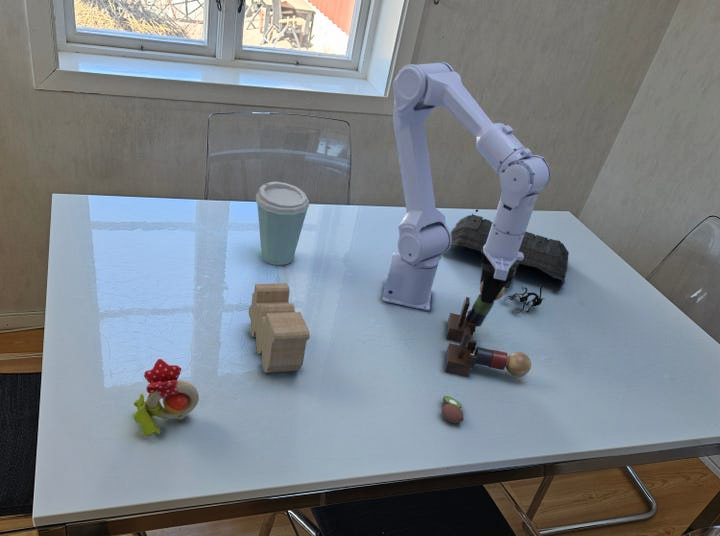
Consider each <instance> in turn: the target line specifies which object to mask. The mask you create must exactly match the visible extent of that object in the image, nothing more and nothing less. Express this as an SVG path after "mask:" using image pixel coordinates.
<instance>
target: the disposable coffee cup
mask: <svg viewBox="0 0 720 536" xmlns="http://www.w3.org/2000/svg"><path fill="white" fill-rule="evenodd" d="M255 202H256V205H257V215H258V228H259V238H260V239H259V243H260V253H261V257H262V259H263V260H264V262H266V263H267V264H271V265H274V266H285V265H287V264H291V262H292V261H293V258H295V255H296V254H295V253H296V250H297V247H298V243H299V240H300V236H301V233H302V229H303V227H304V222H305V218H306V216H307V213H308V209H309V207H310V200H309V199H308V197H307V194H306V193H305V191H303V190H302V189H300V188H299V187H298V186H296V185H292V184H290V183H288V182H281V181H270V182H266V183H264V184H262V185H261V186H260V187H259V188H258V192H257V193H255Z"/></svg>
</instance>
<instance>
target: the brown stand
mask: <svg viewBox="0 0 720 536" xmlns="http://www.w3.org/2000/svg"><path fill="white" fill-rule="evenodd" d="M470 337H471V336H470V328H468V327H465V330H464V333H463V336H462V339H461V342H459V344H456V343H451V342H449V343H448V345H447V349H446V351H445V361H444V362H445V363H444V372H445V373H449V374H453V375H458V376H461V377H466V378H467V377H468V376H469V372H470V370H474V369H475V366H476V365H477V364H476V360H477V356H475V355H474V353H475V350H476V348H477V344H478V342H477V340H472V339H470Z"/></svg>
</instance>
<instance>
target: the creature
mask: <svg viewBox="0 0 720 536" xmlns="http://www.w3.org/2000/svg"><path fill="white" fill-rule="evenodd" d="M543 286H544V284H541V285H540V287H539V295H538V294H537V293H536V292H528V291H529V290H528V288H527V287H524V286H521V290H522V291H523V292H522V293H517V292H516V293H514V294H513V295H512V296H511V295H507V296H505V297H504V298H503V302H505V301H507V300H510V301H514V300H515V301H516V302H517V304H519V303H520V304H521V303H523V305H522V308H521V309H520V310H519V308H517V309H515V310H514V311H511V313H512V314H514V312H516V311H518V310H519V311H518V312H516V314H519V313H522V312H523V311H525V312H526V313H529V312H530V310H531V309H533V308H534V307H535V308H536V307H538V306H540V305H541V304H542V303H543V300H545V298H544V297H542V288H543ZM531 296H535V297H533V299H531V300H529V297H531ZM516 297H518V298H519V301H518V300H516V299H515V298H516ZM531 302H532V304H531V306H530V307H529V308H528V309H527V310H524V309H525V305H526V306H527V305H529V304H530V303H531Z"/></svg>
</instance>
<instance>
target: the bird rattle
mask: <svg viewBox="0 0 720 536" xmlns="http://www.w3.org/2000/svg"><path fill="white" fill-rule="evenodd" d="M181 373H182V367H181V366H179V365H176V364H171V365H170V364H168V363H167V362H166V361H165V360H163V359H162V358H158V359H157V360H156V361H155V363H154V366H153V367H152V368H151V369H148V370H145V371H144V375H143V377H144V379H145V380H146V382H148V384H147V386H146V393H148V395H147V398H146V400H145V395H144V394H143V393H140V395H139V398H138V399H136V400H134V402H133V406H134V407H136V411H135V412H134V413H133V420H134V422H135V423H136V424H139V425H141V434H142V435H143V436H144V437H150V436H151V435H152V434H153V433H155V434H157V435H161V428H160V426H159V425H158V424H157V422H156V421H155V420H154V419H153V417H157V418H160V419H164V420H174V419H175V420H180V421H181V420H184V419H185V418H186V416H187V415H188V414H190V413H191V412H193V410H194V409H195V408H196V407H197V405H198V403H199V400H200V397H199V392H198V389H197V387H196V386H195V385H194V384H192V383H190V382H189V381H186V380H183V379H181V380H180V379H179V378H180V376H181ZM161 399H162V403H161ZM162 404H163V405H162Z"/></svg>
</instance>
